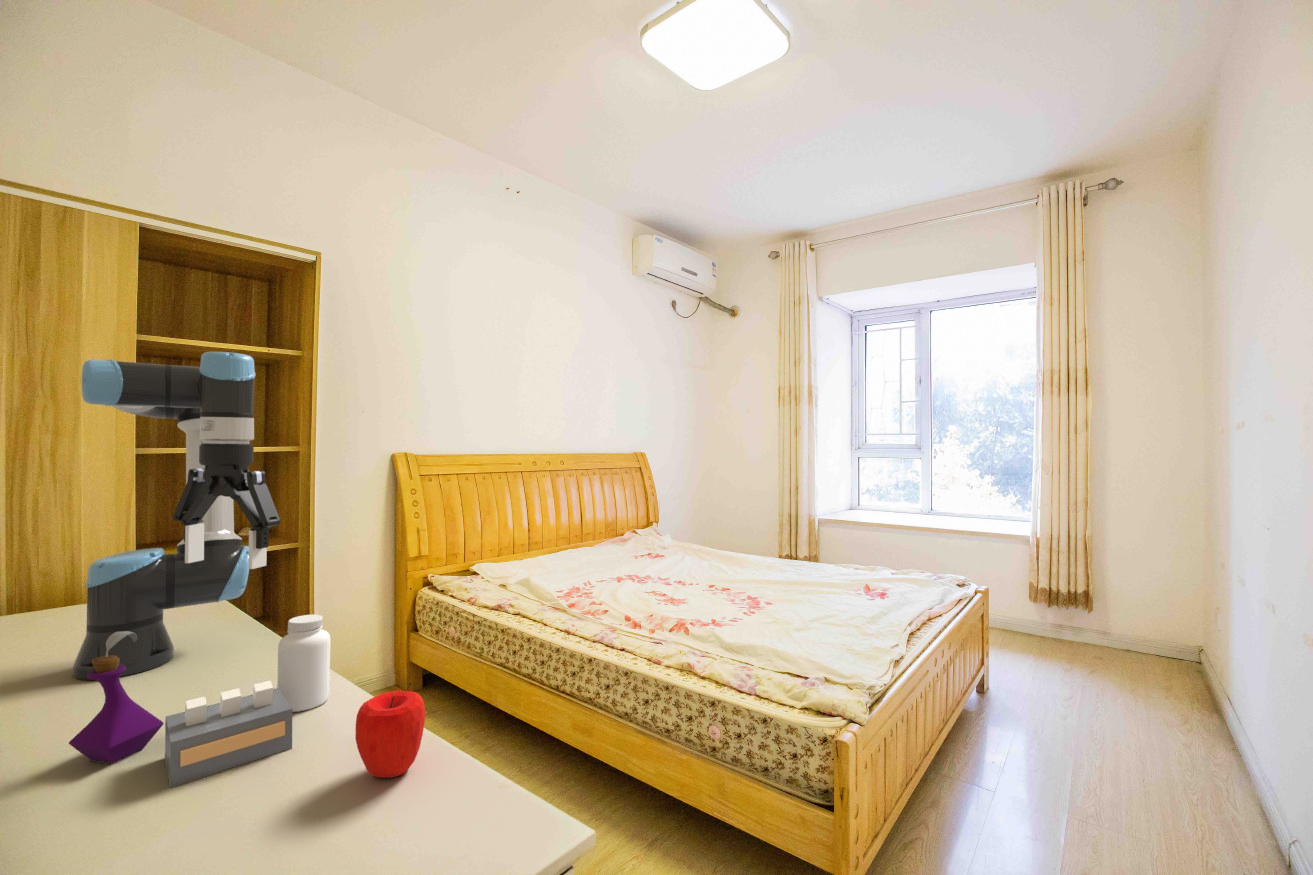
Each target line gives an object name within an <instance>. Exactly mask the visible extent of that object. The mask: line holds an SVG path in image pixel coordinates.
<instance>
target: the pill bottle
mask: <svg viewBox="0 0 1313 875" xmlns="http://www.w3.org/2000/svg"><path fill="white" fill-rule="evenodd" d="M323 624H324V617H323V615H320V614H304V615H298V616H294V617H292V618H290V619H289V620H288V621H287V632H286V633H287V634H286V635H284V636H283V637H282V638H281V639H280V641H279V643H278V646H277V684H276V686H277V687H276V688H279V690H280V691H281V693H282V694H283V696H284V697H285V698H286V700H287V701H288V703H289V704H290V706H291V707H292V713H296V712H301V711H302V712H303V711H308V710H311V709H314V708H317V707H319V706H321V705H323V704H325V703H326V702H327V701H328V700H329V698H330V692H331V691H330V690H331V689H330V687H331V685H330V684H331V635H330V633H329V632H328V631H327V630H324V629H323Z"/></svg>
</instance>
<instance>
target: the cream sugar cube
mask: <svg viewBox="0 0 1313 875" xmlns="http://www.w3.org/2000/svg"><path fill="white" fill-rule="evenodd" d="M272 683H273V682H272V680H266V681H263V682H258V683H255V684H253V685H252V686H253V687H252V695H253V704H254V707H255V708H258V707H262V706H265V705H269V704H272V698H273V689H274V686H273V684H272Z"/></svg>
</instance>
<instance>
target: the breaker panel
mask: <svg viewBox="0 0 1313 875" xmlns="http://www.w3.org/2000/svg"><path fill="white" fill-rule="evenodd" d="M164 721H165V723H164V724H165V726H164V727H165V730H164V731H165V732H164V733H165V734H164V736H165V737H164V740H165V741H164V742H165V744H164V746H165V748H164V759H165V765H166V770H167V778H168V782H169V787H170V788H173V787H176V786H179V785H183V784H185V783H189V782H192V781H196V780H198V779H202V778H205V777H207V776H211V775H213V774H216V773H220V772H224V771H226V770H229V769H232V768H235V767H238V766H242V765H246V764H249V763H251V762H254V761H257V760H260V759H264V758H266V757H269V756H272V755H276V754H279V753H282V752H285V751H288V750H292V749H293V712H292V707H291V706H290V704H289V703H288V701H287V700H286V698H285V697H284V696H283V694H282V693H281V691H280V690H279V688H277V687H276V688H273V698H272V704H269V705H265V706H262V707H258V708H255V707H254V704H253V694H250V695H244V696H241V707H240V712H239V713H236V714H232V715H228V716H224V717H222V716H221V712H220V702H218V703H215V704H214V703H213V704H209V705H207V712H206V722H202V723H198V724H195V725H191V726H187V727H186V721H185V711H182V712H179V713H174V714H170V715H166V716H165V720H164Z"/></svg>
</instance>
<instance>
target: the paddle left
mask: <svg viewBox="0 0 1313 875" xmlns="http://www.w3.org/2000/svg"><path fill="white" fill-rule="evenodd" d="M207 706H208V704H207V699H206V696H201V697H196V698H193V699H189V700H186V701H185V708H184V709H185V711H184V712H185V721H186V727H187V726H191V725H195V724H198V723H202V722H206V712H207Z"/></svg>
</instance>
